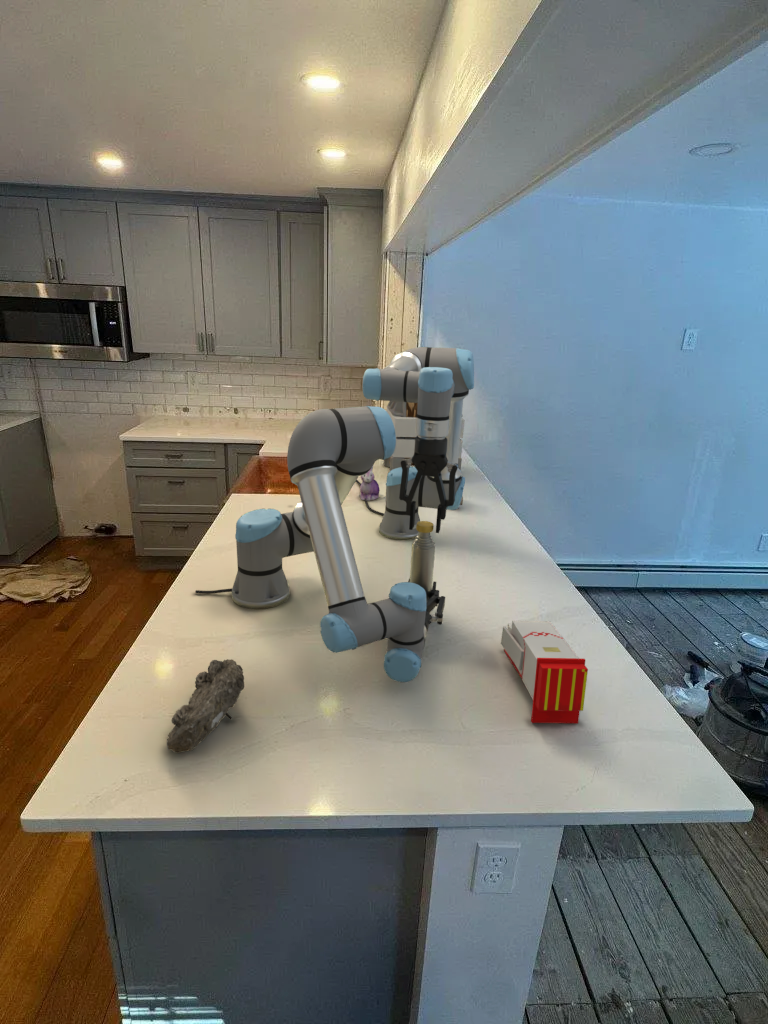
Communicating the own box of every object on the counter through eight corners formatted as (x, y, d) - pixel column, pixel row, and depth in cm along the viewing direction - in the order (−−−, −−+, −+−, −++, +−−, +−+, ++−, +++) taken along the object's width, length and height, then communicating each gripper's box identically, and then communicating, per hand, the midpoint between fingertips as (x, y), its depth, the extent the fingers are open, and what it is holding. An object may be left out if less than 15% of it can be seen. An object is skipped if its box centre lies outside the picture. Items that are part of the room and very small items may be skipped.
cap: (424, 525, 142) (424, 519, 141) (436, 530, 139) (437, 524, 138) (412, 529, 139) (412, 523, 139) (424, 534, 136) (425, 528, 136)
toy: (547, 606, 135) (596, 665, 106) (541, 658, 138) (589, 729, 108) (496, 604, 134) (532, 664, 105) (492, 657, 137) (526, 729, 108)
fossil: (192, 660, 117) (244, 628, 112) (224, 691, 120) (276, 661, 115) (142, 746, 98) (202, 712, 93) (182, 779, 101) (242, 748, 96)
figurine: (364, 502, 230) (365, 466, 225) (353, 495, 238) (354, 460, 233) (384, 500, 234) (386, 464, 229) (373, 492, 242) (375, 458, 237)
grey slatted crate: (382, 463, 289) (386, 382, 275) (445, 464, 293) (451, 384, 279) (390, 482, 257) (394, 392, 243) (460, 483, 261) (468, 394, 247)
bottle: (406, 620, 145) (412, 529, 136) (408, 609, 150) (414, 521, 142) (428, 622, 144) (435, 531, 136) (430, 611, 149) (437, 523, 141)
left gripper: (369, 639, 131) (386, 593, 153) (450, 650, 128) (456, 601, 150) (370, 610, 128) (388, 567, 150) (453, 621, 126) (459, 576, 147)
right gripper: (388, 435, 130) (383, 529, 137) (470, 443, 126) (461, 539, 134) (395, 429, 137) (390, 519, 144) (473, 436, 133) (464, 528, 140)
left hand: (422, 584), depth 150 cm, fingers closed on bottle, 6 cm apart
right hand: (424, 529), depth 139 cm, fingers open, 6 cm apart
